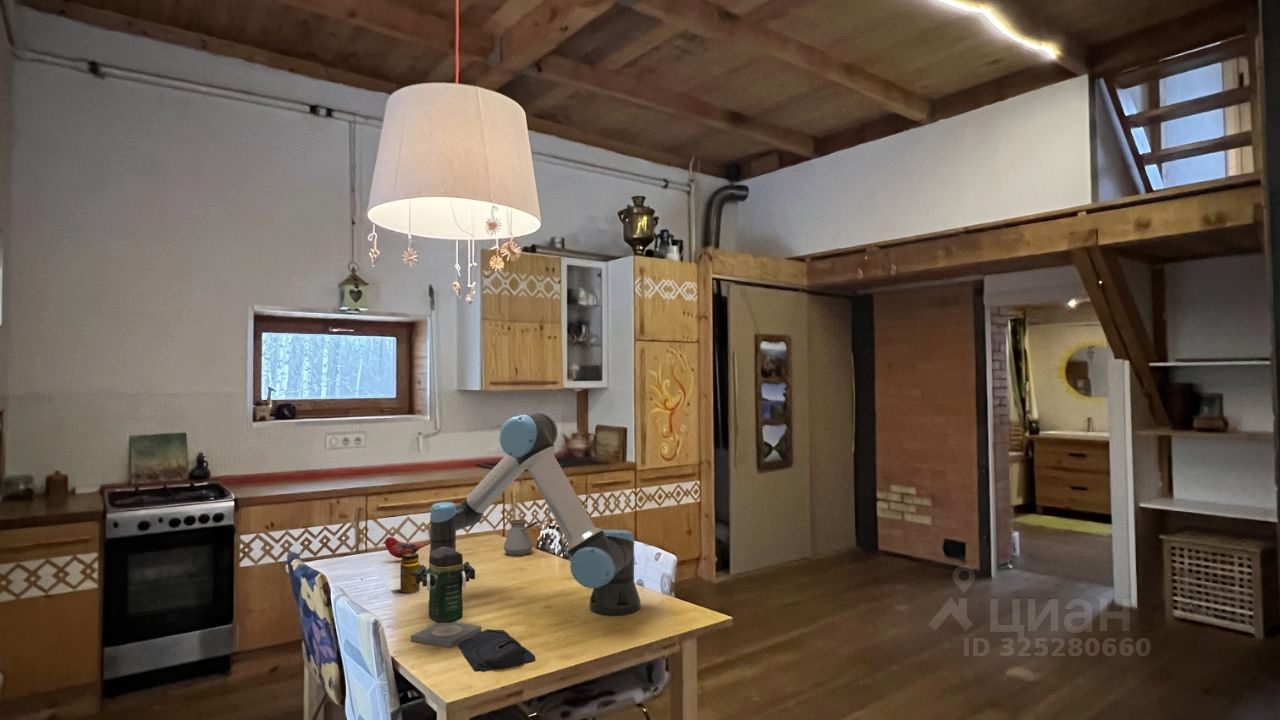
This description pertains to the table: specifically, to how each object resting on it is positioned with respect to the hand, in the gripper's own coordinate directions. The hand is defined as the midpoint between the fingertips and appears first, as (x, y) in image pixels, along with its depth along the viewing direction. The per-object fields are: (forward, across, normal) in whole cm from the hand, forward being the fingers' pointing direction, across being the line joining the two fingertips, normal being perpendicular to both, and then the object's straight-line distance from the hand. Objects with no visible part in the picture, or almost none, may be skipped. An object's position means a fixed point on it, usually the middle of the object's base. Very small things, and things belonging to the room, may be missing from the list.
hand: (446, 584), depth 192 cm
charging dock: (-4, 0, -15) cm, 16 cm away
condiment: (-51, +11, -16) cm, 55 cm away
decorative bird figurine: (-93, +11, -16) cm, 95 cm away
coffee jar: (-5, 0, -11) cm, 12 cm away
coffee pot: (-87, -32, -16) cm, 94 cm away
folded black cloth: (+12, -11, -16) cm, 23 cm away
